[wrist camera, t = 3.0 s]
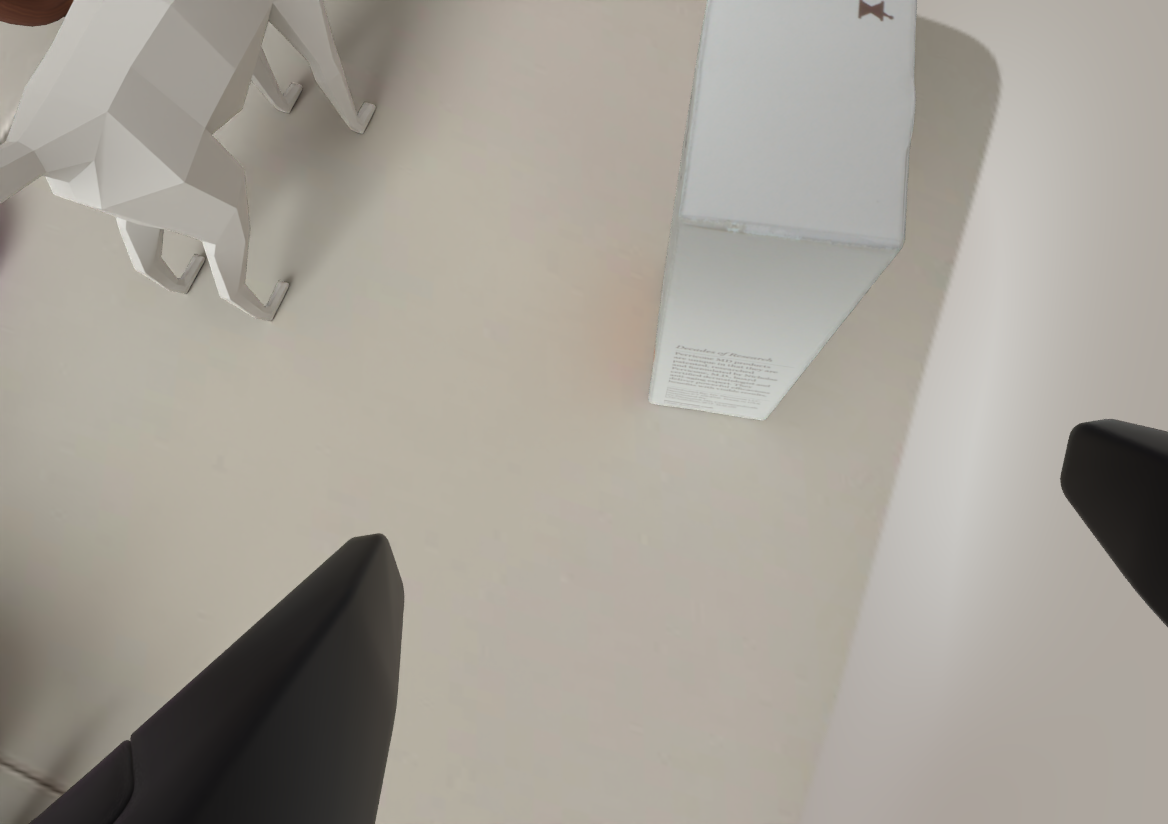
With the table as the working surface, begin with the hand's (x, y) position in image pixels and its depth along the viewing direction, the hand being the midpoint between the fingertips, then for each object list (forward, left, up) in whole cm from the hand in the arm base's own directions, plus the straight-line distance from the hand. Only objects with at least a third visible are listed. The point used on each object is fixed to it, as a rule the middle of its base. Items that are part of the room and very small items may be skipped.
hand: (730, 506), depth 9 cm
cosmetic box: (-2, -8, -14) cm, 16 cm away
